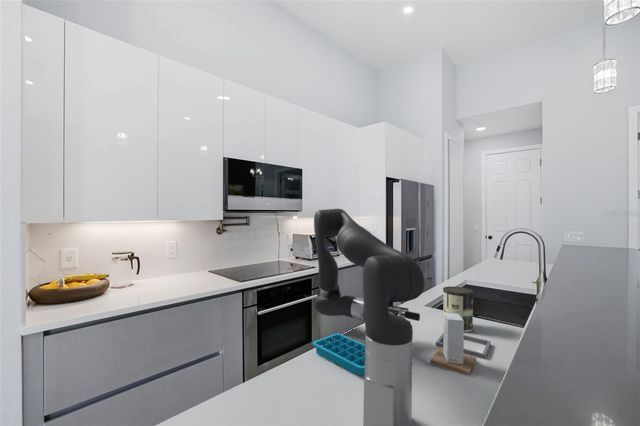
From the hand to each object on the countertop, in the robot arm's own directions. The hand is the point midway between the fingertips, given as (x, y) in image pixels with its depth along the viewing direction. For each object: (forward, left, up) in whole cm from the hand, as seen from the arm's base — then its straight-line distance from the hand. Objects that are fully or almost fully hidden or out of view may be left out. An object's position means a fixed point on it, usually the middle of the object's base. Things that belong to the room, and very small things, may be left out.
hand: (415, 321), depth 90 cm
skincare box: (0, -11, -8) cm, 14 cm away
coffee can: (+30, -6, -9) cm, 32 cm away
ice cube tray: (-16, +14, -10) cm, 23 cm away
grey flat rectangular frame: (+14, -11, -9) cm, 20 cm away
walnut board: (0, -11, -9) cm, 14 cm away
